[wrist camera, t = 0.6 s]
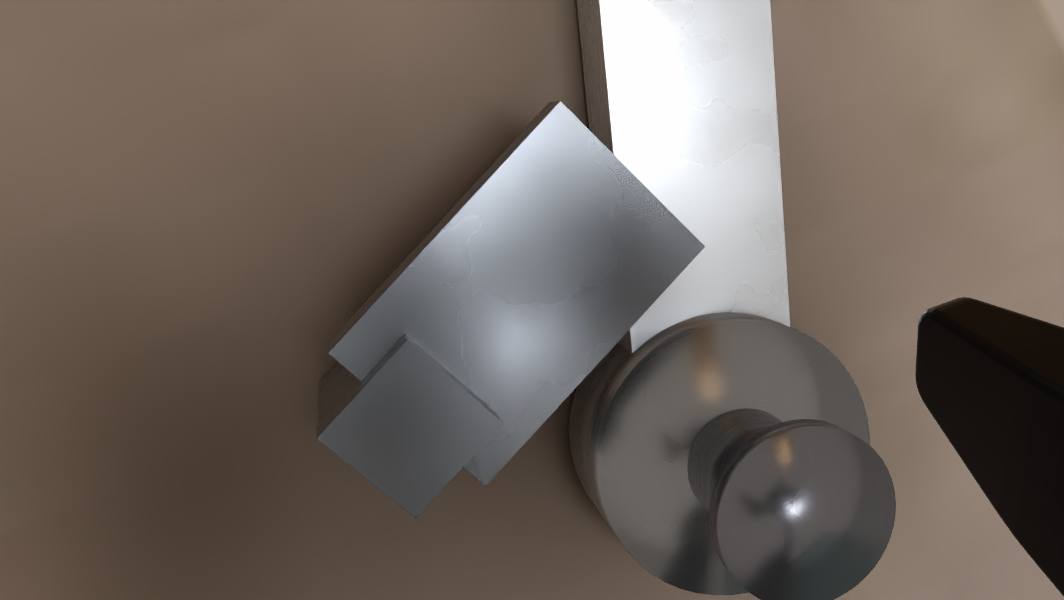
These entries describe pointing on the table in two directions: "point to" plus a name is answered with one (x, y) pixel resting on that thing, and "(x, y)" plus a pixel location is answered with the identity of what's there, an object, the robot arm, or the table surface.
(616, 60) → the link
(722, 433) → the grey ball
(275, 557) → the table surface
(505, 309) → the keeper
